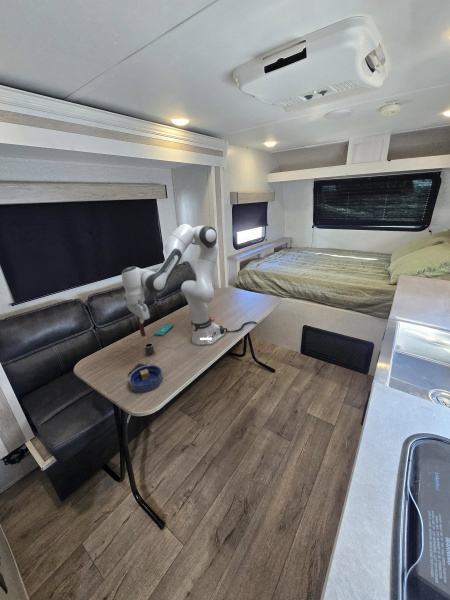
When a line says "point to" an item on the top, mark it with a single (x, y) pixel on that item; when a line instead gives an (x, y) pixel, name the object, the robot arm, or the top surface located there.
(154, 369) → the bowl
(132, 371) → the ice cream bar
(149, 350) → the holder
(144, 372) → the block
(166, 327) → the smartphone
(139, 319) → the chopstick
